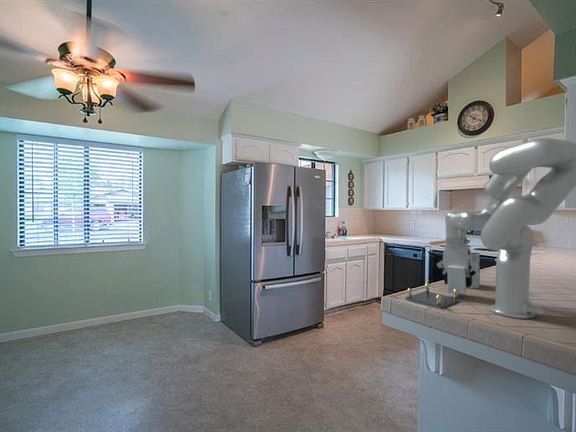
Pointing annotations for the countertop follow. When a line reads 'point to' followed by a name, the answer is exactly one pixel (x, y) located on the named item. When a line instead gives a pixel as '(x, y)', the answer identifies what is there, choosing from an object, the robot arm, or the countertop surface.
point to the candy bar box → (476, 276)
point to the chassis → (433, 298)
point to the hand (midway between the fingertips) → (457, 284)
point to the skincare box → (456, 279)
